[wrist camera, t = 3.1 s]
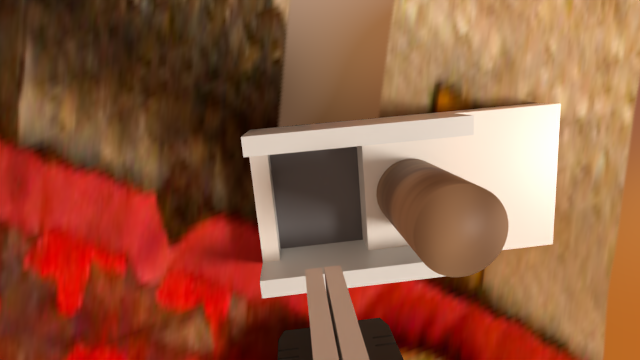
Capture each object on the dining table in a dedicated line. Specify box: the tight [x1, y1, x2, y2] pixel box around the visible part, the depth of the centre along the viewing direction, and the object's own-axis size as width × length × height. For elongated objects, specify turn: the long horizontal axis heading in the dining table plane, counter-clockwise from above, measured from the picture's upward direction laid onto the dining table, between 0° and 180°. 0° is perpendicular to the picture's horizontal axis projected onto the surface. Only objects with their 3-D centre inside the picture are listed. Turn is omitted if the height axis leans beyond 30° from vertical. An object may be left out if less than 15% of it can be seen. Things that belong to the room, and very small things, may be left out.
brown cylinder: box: [376, 159, 509, 277], centre depth 28 cm, size 6×6×10 cm
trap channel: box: [241, 103, 561, 298], centre depth 32 cm, size 27×13×6 cm, turn 95°
